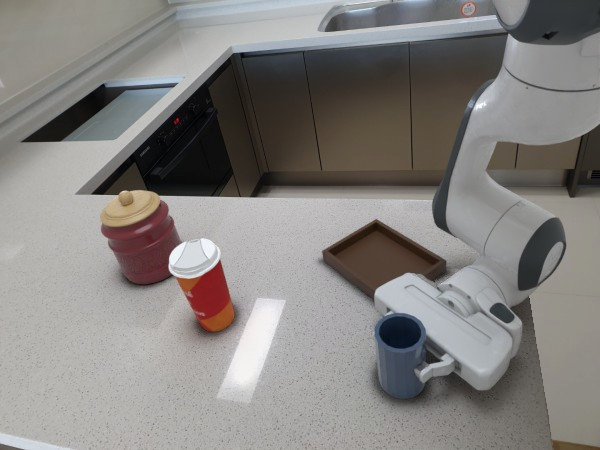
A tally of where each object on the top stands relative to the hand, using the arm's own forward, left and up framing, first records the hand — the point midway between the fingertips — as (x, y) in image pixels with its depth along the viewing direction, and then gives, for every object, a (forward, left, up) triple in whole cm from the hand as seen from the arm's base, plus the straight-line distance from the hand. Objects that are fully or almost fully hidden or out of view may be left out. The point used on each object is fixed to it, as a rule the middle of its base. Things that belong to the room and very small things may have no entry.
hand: (396, 357), depth 61 cm
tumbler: (0, -1, -6) cm, 6 cm away
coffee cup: (+29, +14, -6) cm, 33 cm away
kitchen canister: (+52, +17, -6) cm, 55 cm away
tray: (+19, -15, -6) cm, 25 cm away
